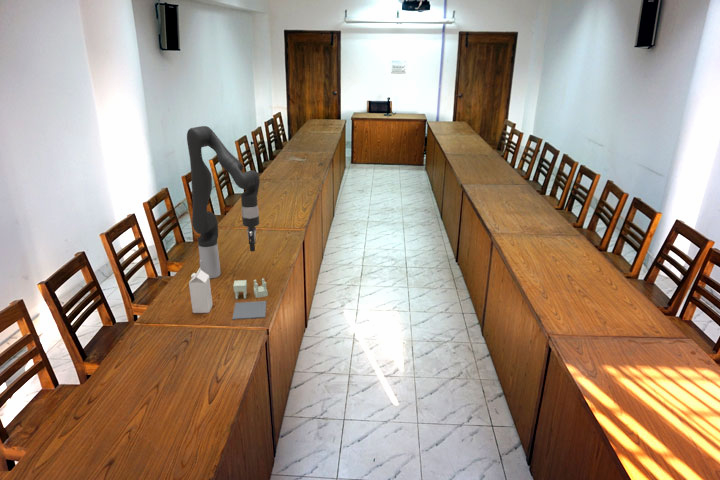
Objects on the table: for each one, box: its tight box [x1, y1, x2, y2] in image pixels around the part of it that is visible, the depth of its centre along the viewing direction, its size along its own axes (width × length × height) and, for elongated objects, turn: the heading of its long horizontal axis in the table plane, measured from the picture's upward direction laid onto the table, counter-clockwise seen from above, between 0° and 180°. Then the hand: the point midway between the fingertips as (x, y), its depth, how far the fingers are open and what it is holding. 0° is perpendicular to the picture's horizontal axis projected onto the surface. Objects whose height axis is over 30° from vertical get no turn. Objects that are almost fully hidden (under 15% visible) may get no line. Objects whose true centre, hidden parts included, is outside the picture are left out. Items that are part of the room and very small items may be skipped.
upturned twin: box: [253, 278, 269, 299], centre depth 239 cm, size 6×6×7 cm
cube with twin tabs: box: [233, 279, 248, 300], centre depth 237 cm, size 6×6×7 cm
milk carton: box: [188, 267, 213, 314], centre depth 224 cm, size 7×7×19 cm
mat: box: [232, 300, 267, 321], centre depth 226 cm, size 14×14×1 cm
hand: (252, 247), depth 237 cm, fingers open, 8 cm apart
